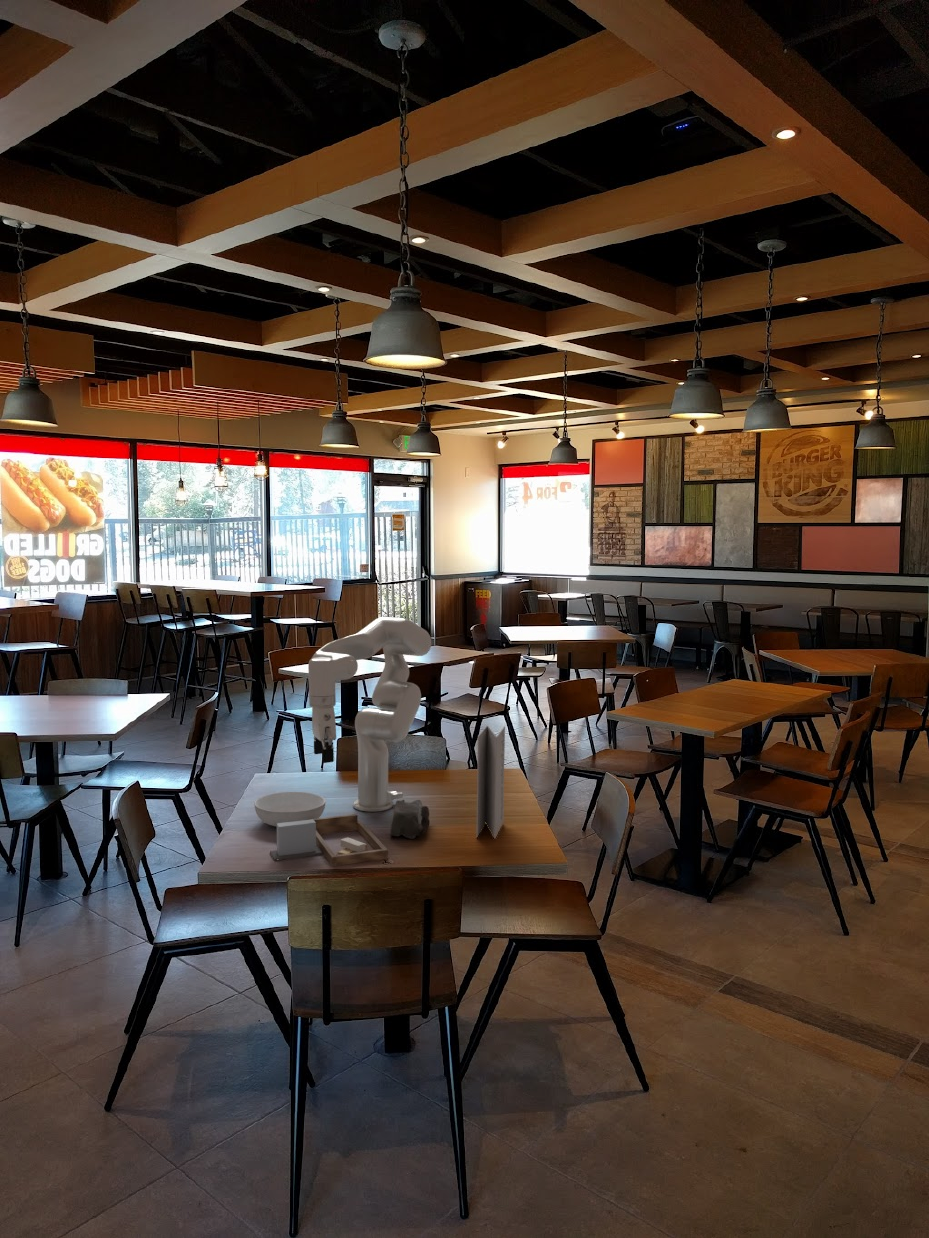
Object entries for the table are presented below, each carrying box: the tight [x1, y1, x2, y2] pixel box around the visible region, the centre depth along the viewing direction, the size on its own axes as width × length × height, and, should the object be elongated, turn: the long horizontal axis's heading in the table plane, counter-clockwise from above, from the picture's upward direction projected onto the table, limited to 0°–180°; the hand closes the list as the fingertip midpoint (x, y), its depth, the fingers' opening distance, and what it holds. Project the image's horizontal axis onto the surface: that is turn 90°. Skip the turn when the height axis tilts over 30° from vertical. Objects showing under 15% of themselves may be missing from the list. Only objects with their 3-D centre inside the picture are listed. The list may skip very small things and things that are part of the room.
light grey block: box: [276, 819, 316, 856], centre depth 246 cm, size 10×3×8 cm, turn 113°
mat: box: [269, 845, 323, 861], centre depth 246 cm, size 13×6×1 cm, turn 113°
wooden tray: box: [313, 813, 389, 867], centre depth 253 cm, size 15×26×4 cm, turn 23°
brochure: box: [475, 725, 506, 839], centre depth 265 cm, size 14×6×30 cm, turn 168°
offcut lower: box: [337, 843, 368, 855], centre depth 247 cm, size 9×3×2 cm, turn 149°
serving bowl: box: [253, 791, 326, 828], centre depth 271 cm, size 21×21×7 cm
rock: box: [389, 799, 430, 840], centre depth 265 cm, size 18×11×8 cm, turn 1°
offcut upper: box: [340, 837, 366, 852], centre depth 247 cm, size 7×3×2 cm, turn 50°
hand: (323, 757), depth 264 cm, fingers open, 9 cm apart
